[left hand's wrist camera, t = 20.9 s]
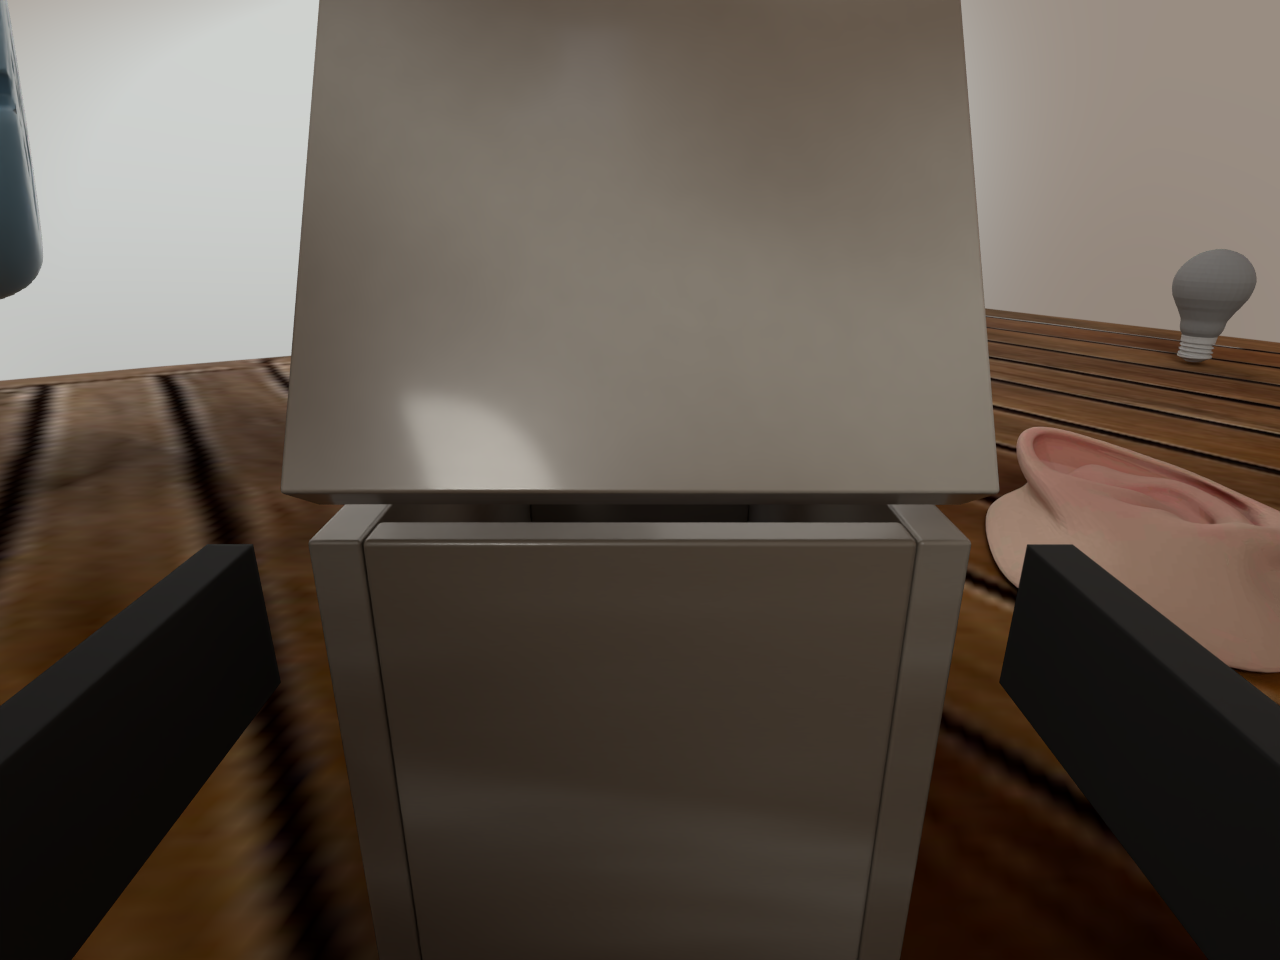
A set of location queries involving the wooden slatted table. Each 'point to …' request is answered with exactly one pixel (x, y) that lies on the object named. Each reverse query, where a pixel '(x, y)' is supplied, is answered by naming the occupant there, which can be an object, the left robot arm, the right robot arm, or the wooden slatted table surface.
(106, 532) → the wooden slatted table surface
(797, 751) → the chest
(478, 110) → the lid
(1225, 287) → the light bulb
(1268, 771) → the left robot arm
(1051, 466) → the anatomical model
